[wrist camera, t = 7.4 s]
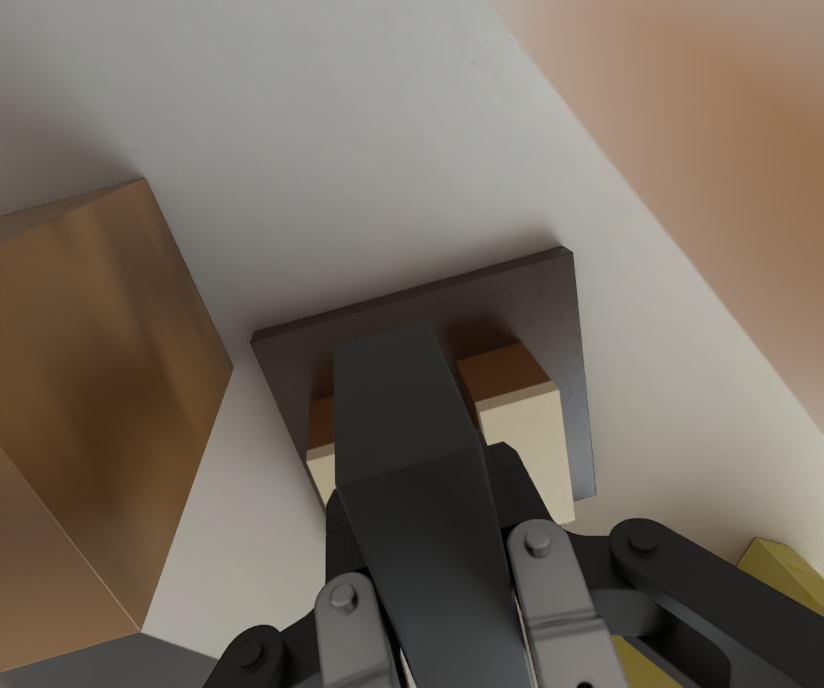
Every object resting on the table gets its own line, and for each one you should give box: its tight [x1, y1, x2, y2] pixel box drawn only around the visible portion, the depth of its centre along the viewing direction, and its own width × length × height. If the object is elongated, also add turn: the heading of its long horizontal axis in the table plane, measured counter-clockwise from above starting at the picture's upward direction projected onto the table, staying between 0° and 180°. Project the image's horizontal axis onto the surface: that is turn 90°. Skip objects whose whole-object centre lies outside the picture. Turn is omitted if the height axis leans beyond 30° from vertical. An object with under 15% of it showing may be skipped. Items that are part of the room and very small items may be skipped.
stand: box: [0, 178, 233, 672], centre depth 22 cm, size 12×8×18 cm, turn 13°
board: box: [250, 246, 596, 516], centre depth 36 cm, size 20×20×2 cm
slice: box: [455, 342, 575, 525], centre depth 33 cm, size 10×4×6 cm, turn 13°
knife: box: [333, 321, 535, 688], centre depth 15 cm, size 22×2×5 cm, turn 13°
